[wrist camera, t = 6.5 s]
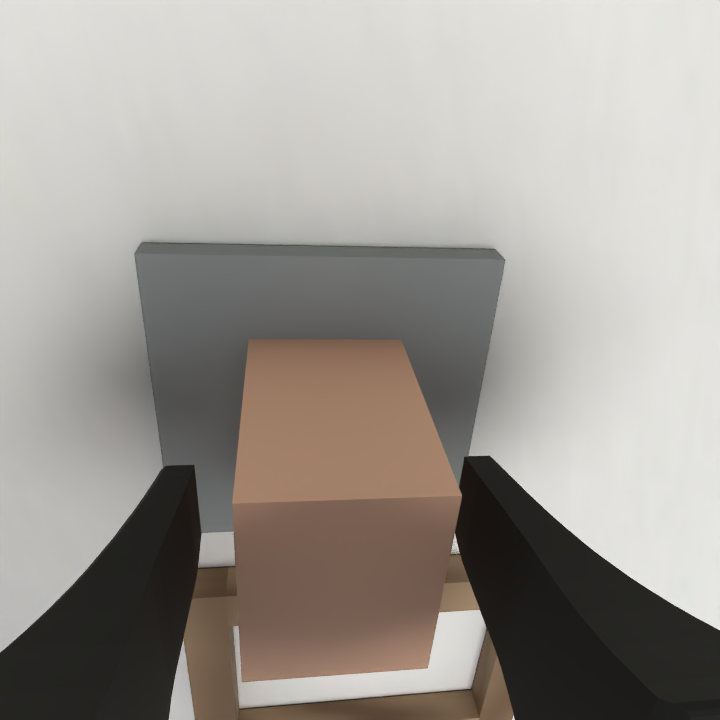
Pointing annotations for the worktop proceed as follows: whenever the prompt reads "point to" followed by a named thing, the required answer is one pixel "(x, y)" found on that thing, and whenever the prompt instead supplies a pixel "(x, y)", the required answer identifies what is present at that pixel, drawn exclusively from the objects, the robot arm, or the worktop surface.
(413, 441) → the terracotta block
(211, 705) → the walnut frame
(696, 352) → the worktop surface
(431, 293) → the slate mat
